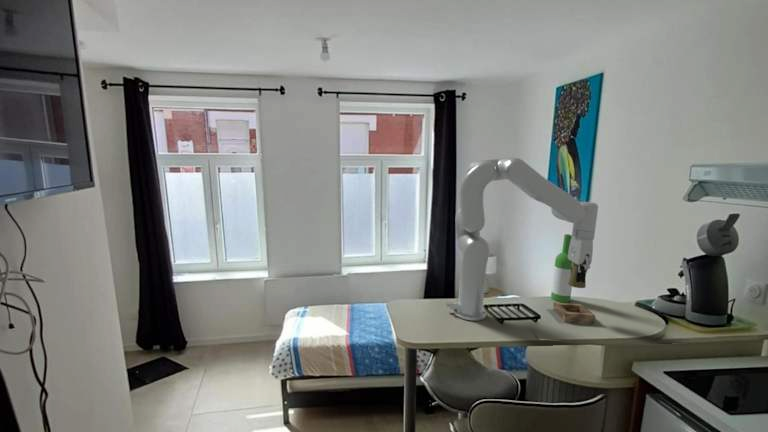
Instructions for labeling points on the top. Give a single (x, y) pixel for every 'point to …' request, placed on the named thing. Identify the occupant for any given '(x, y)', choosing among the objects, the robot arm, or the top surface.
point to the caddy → (574, 313)
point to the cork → (573, 277)
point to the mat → (561, 319)
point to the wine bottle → (562, 274)
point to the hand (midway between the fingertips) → (577, 279)
